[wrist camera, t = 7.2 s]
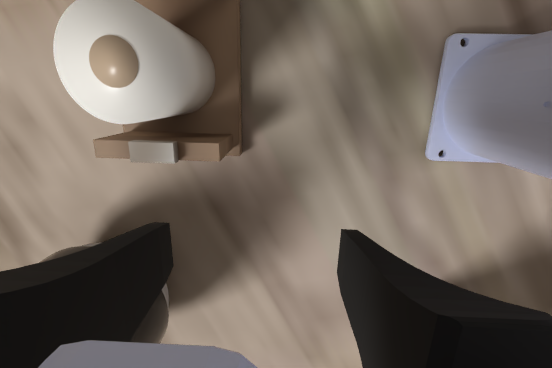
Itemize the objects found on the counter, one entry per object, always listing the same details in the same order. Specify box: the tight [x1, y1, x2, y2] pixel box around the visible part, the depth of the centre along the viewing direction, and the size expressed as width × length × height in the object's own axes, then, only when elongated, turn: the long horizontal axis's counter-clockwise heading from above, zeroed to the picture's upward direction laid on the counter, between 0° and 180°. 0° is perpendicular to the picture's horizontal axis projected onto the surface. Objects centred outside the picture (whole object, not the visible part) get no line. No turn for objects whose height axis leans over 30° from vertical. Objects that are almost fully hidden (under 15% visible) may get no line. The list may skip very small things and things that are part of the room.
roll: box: [53, 0, 215, 124], centre depth 15 cm, size 5×5×7 cm
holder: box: [93, 0, 242, 163], centre depth 17 cm, size 8×11×6 cm
